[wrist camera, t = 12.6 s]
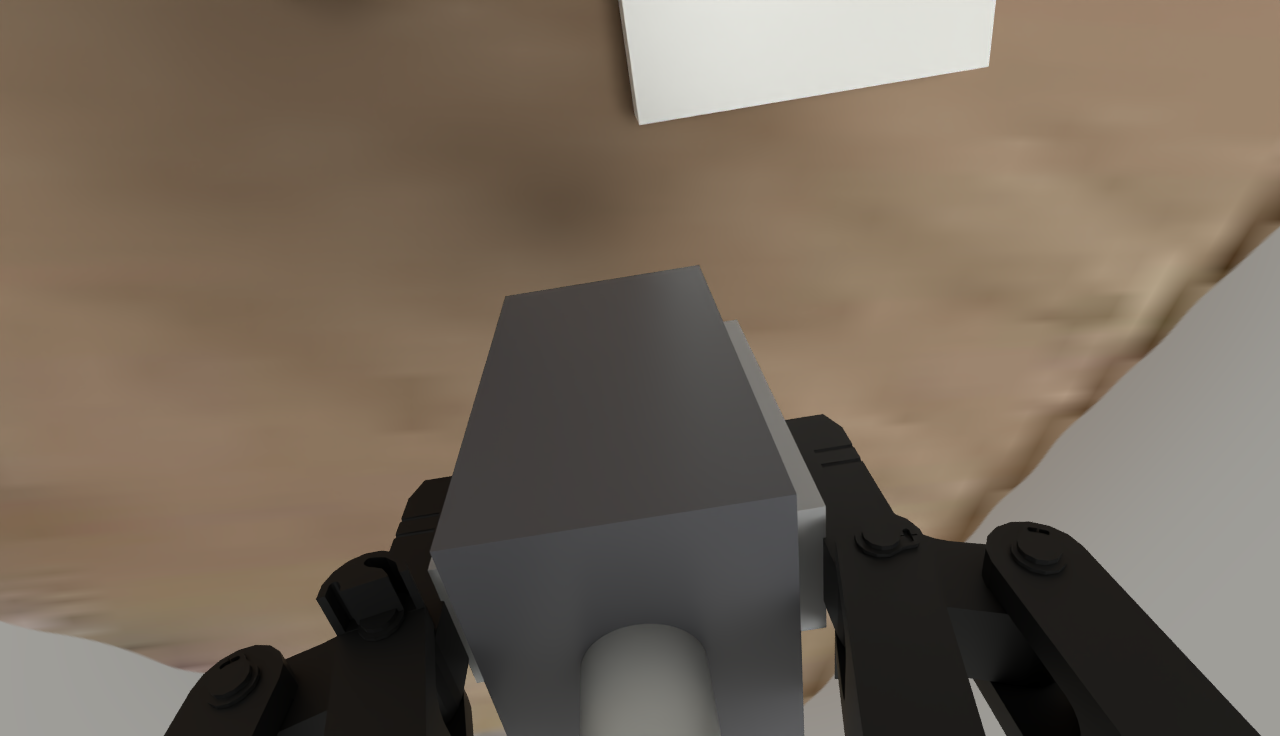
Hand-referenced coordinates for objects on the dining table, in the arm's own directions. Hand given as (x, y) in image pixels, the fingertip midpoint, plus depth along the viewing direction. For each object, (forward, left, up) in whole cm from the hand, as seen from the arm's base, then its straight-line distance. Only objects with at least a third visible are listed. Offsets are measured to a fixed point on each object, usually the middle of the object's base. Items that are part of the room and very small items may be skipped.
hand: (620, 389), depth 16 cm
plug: (0, 0, 0) cm, 0 cm away
